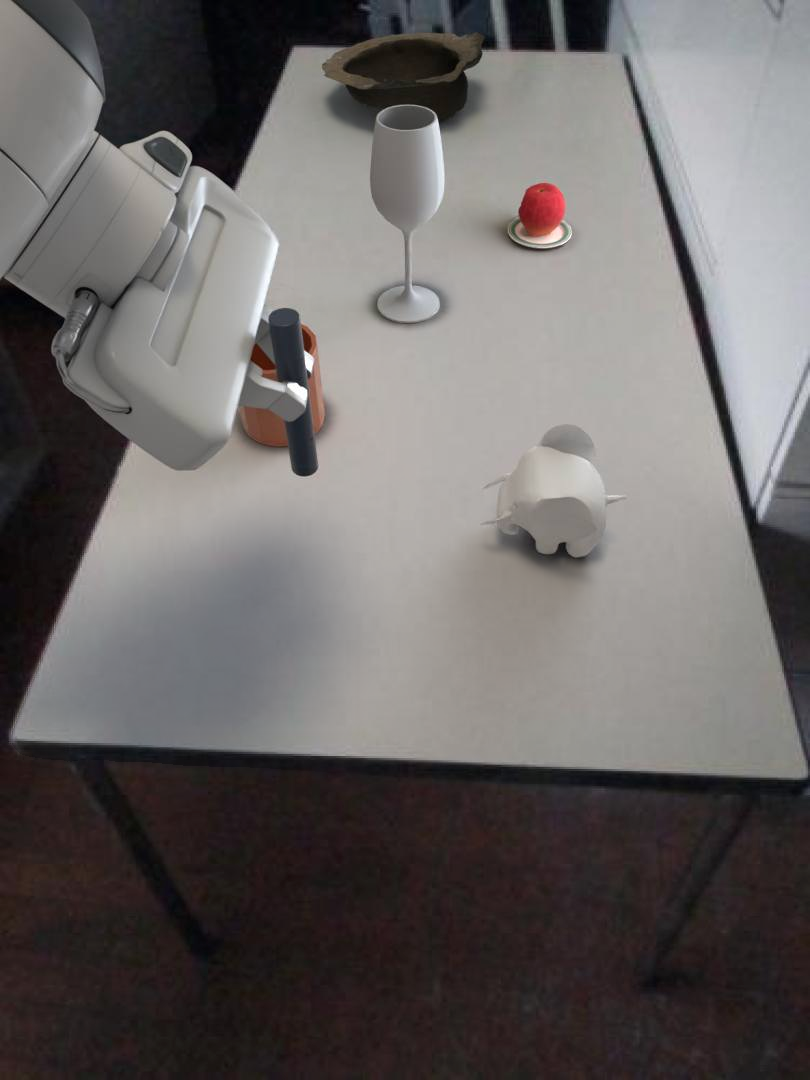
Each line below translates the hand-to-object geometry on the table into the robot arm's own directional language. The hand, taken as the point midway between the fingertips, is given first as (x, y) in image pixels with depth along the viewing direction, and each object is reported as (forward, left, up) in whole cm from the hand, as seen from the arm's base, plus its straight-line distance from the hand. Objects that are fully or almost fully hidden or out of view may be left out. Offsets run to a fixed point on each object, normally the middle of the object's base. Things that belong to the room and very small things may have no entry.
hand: (304, 391), depth 52 cm
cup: (+7, +24, -23) cm, 34 cm away
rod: (-1, 0, -7) cm, 7 cm away
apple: (+50, +38, -23) cm, 67 cm away
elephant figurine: (+20, -2, -23) cm, 31 cm away
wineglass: (+28, +34, -23) cm, 50 cm away
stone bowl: (+56, +80, -23) cm, 101 cm away
